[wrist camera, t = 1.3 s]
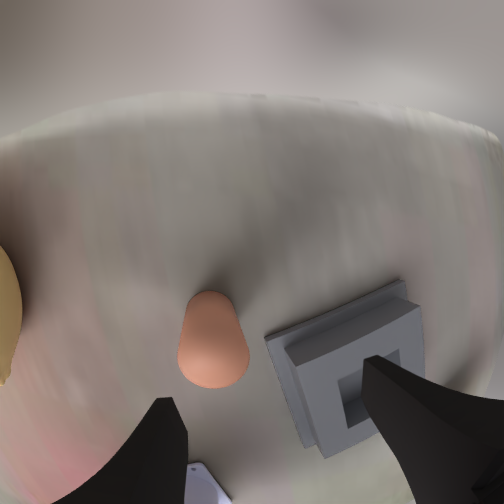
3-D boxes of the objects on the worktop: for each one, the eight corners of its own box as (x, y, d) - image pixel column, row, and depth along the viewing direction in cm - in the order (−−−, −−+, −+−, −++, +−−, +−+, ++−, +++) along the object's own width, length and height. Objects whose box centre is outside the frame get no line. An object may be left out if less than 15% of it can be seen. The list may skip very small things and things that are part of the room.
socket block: (302, 443, 22) (315, 469, 19) (263, 337, 21) (276, 360, 17) (410, 387, 24) (432, 405, 20) (398, 279, 22) (428, 288, 18)
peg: (196, 343, 20) (193, 396, 13) (178, 300, 19) (166, 338, 13) (241, 328, 20) (258, 375, 13) (225, 283, 20) (235, 314, 13)
